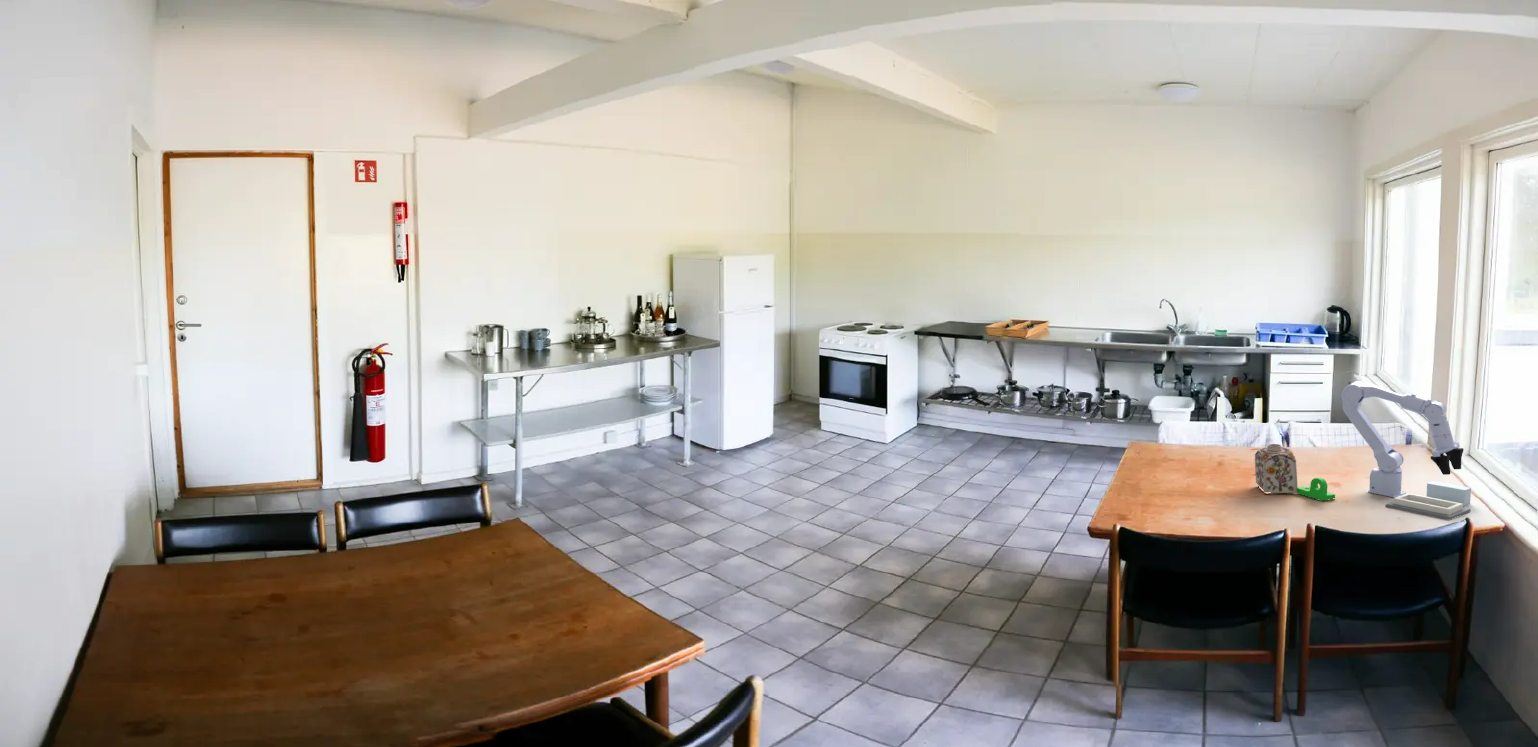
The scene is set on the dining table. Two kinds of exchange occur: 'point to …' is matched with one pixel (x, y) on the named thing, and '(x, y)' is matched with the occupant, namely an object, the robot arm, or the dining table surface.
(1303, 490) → the mechanical part
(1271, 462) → the decorative jar
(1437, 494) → the block
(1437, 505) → the cradle jig
